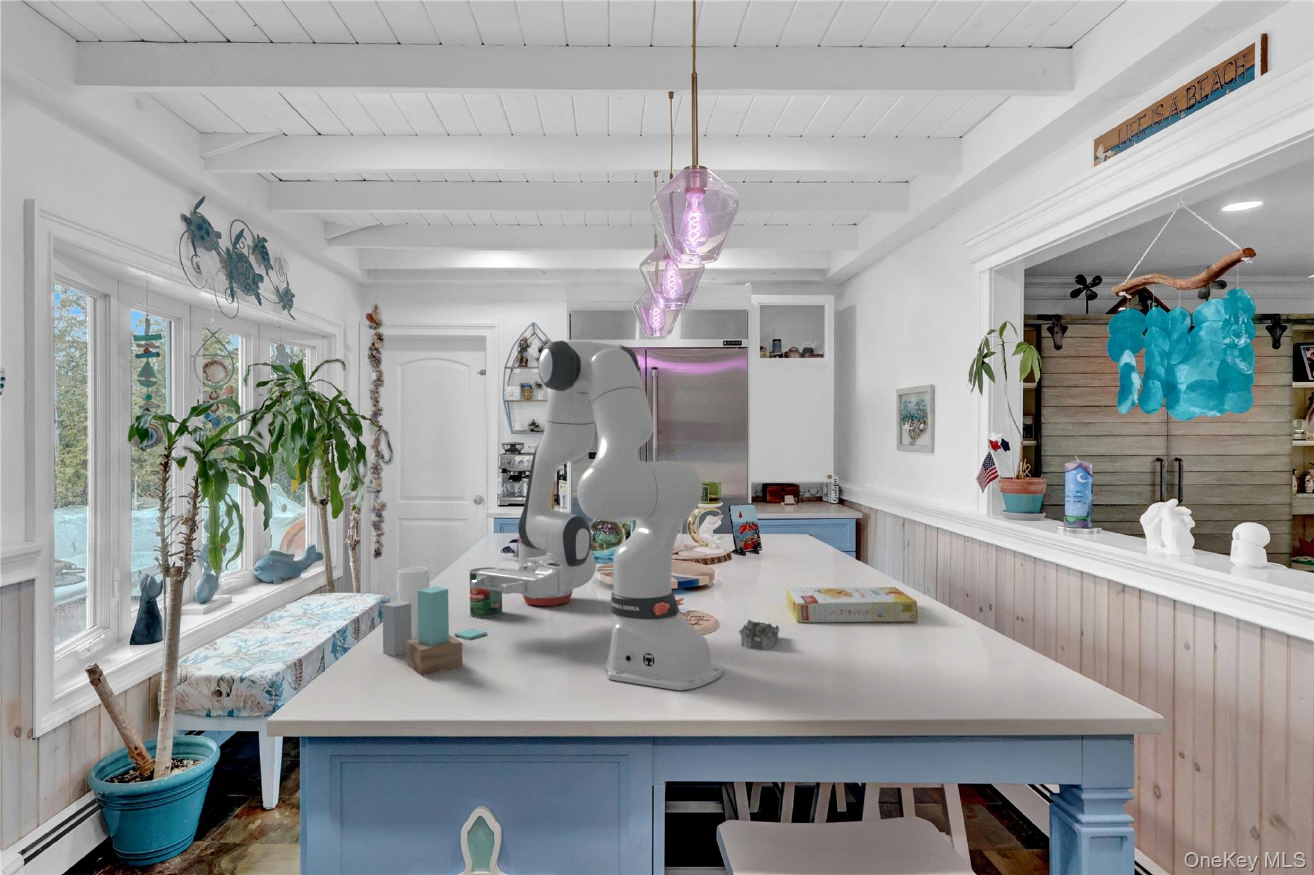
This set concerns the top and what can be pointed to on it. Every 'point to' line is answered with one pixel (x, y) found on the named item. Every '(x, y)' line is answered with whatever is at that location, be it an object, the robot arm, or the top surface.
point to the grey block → (396, 627)
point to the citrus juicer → (542, 601)
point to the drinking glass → (412, 590)
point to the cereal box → (851, 605)
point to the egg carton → (759, 635)
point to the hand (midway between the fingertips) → (487, 587)
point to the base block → (434, 656)
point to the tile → (470, 633)
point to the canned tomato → (484, 599)
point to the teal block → (433, 615)
